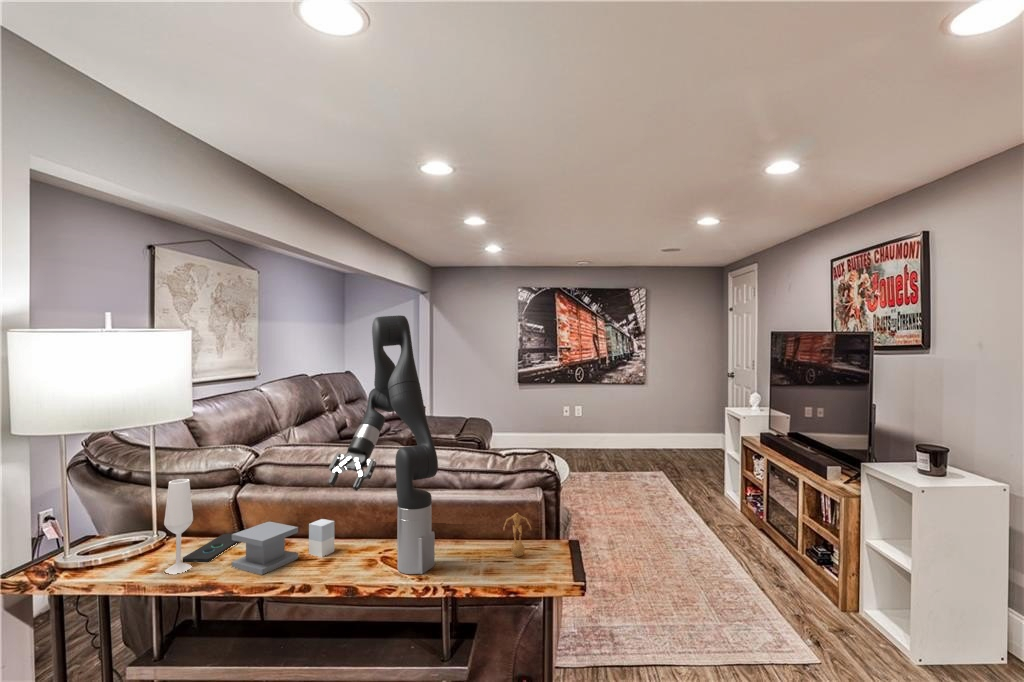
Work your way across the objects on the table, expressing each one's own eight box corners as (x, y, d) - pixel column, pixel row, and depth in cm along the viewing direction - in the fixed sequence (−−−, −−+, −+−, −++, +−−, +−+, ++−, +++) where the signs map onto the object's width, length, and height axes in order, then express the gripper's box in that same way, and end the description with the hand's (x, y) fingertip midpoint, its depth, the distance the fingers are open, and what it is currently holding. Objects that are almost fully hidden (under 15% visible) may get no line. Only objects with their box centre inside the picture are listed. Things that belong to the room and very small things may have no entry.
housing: (334, 551, 154) (334, 521, 154) (321, 557, 149) (321, 526, 150) (321, 548, 156) (321, 518, 156) (308, 554, 152) (309, 523, 152)
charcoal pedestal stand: (298, 558, 149) (298, 527, 149) (262, 575, 138) (262, 541, 138) (268, 551, 154) (268, 521, 154) (231, 567, 143) (231, 534, 143)
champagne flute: (157, 574, 138) (158, 484, 139) (174, 564, 145) (175, 478, 145) (182, 574, 138) (183, 484, 139) (198, 564, 145) (198, 478, 145)
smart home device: (180, 557, 146) (223, 533, 166) (180, 564, 146) (223, 538, 166) (209, 558, 146) (248, 533, 166) (209, 564, 146) (248, 538, 166)
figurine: (504, 559, 148) (504, 517, 148) (502, 551, 154) (502, 510, 154) (533, 558, 149) (533, 516, 149) (530, 550, 155) (529, 509, 155)
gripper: (340, 432, 169) (317, 478, 159) (379, 438, 165) (358, 485, 155) (350, 444, 175) (328, 489, 165) (387, 449, 171) (367, 496, 161)
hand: (342, 487), depth 160 cm, fingers open, 8 cm apart
